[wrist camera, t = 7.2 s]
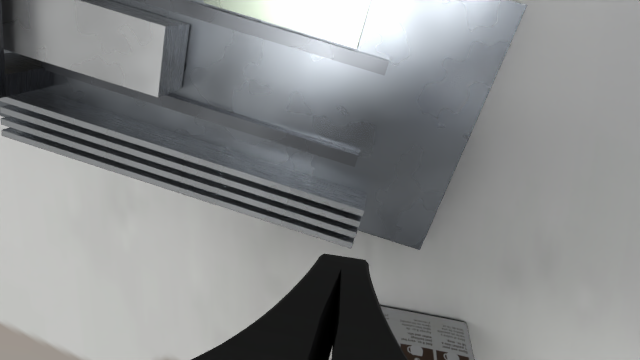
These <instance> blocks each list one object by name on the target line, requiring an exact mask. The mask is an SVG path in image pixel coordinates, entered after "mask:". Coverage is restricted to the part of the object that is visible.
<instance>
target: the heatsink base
mask: <svg viewBox="0 0 640 360" xmlns="http://www.w3.org/2000/svg"><path fill="white" fill-rule="evenodd" d="M110 1H114V2H117V3H120V4H123V5H127V6H130V7H133V8H137V9H140V10H143V11H147V12H150V13H153V14H156V15H160V16H163V17H166V18H170V19H173V20H176V21H180V22H183V23H186V24H189V25H190V26H189V34H188V42H187V50H186V57H185V65H184V73H183V81H182V89H179V90H176V91H174V92H171V93H168V94H166V95H163V96H160V97H155V96H152V95H149V94H145V93H142V92H139V91H136V90H133V89H129V88H126V87H123V86H120V85H117V84H113V83H110V82H107V81H104V80H101V79H97V78H94V77H91V76H88V75H85V74H81V73H78V72H75V71H72V70H69V69H65V68H62V67H59V66H56V65H53V64H49V63H46V62H43V61H40V60H37V59H33V58H30V57H27V56H24V55H21V54H17V53H14V52H11V51H8V50H5V49H4V43H3V23H2V3H1V0H0V115H1V116H4V117H5V118H1V124H2V125H5V126H8V127H10V128H7V129H3V130H2V136H4V137H7V138H11V139H14V140H17V141H20V142H23V143H26V144H29V145H32V146H35V147H38V148H41V149H45V150H48V151H51V152H54V153H57V154H60V155H63V156H66V157H69V158H72V159H75V160H79V161H82V162H85V163H88V164H91V165H94V166H97V167H100V168H103V169H106V170H110V171H113V172H116V173H119V174H122V175H125V176H128V177H131V178H134V179H137V180H140V181H144V182H147V183H150V184H153V185H156V186H159V187H162V188H165V189H168V190H171V191H174V192H178V193H181V194H184V195H187V196H190V197H193V198H196V199H199V200H202V201H205V202H209V203H212V204H215V205H218V206H221V207H224V208H227V209H230V210H233V211H236V212H239V213H243V214H246V215H249V216H252V217H255V218H258V219H261V220H264V221H267V222H270V223H274V224H277V225H280V226H283V227H286V228H289V229H292V230H295V231H298V232H301V233H304V234H308V235H311V236H314V237H317V238H320V239H323V240H326V241H329V242H332V243H335V244H338V245H342V246H345V247H348V248H351V247H352V244H353V240H354V238H355V236H356V233H357V230H359V231H362V232H365V233H368V234H371V235H375V236H378V237H381V238H384V239H387V240H390V241H393V242H396V243H400V244H403V245H406V246H409V247H412V248H415V249H418V250H420V248H421V246H422V243H423V241H424V239H425V237H426V234H427V232H428V230H429V228H430V225H431V223H432V221H433V218H434V216H435V214H436V212H437V209H438V207H439V205H440V202H441V200H442V198H443V196H444V193H445V191H446V189H447V186H448V184H449V182H450V180H451V177H452V175H453V173H454V171H455V168H456V166H457V164H458V161H459V159H460V157H461V155H462V152H463V150H464V148H465V145H466V143H467V141H468V139H469V136H470V134H471V132H472V130H473V127H474V125H475V123H476V120H477V118H478V116H479V114H480V111H481V109H482V107H483V104H484V102H485V100H486V98H487V95H488V93H489V91H490V89H491V86H492V84H493V82H494V79H495V77H496V75H497V73H498V70H499V68H500V66H501V63H502V61H503V59H504V57H505V54H506V52H507V50H508V48H509V45H510V43H511V41H512V38H513V36H514V34H515V32H516V29H517V27H518V25H519V22H520V20H521V18H522V16H523V13H524V11H525V9H526V6H527V5H525V4H521V3H518V2H514V1H511V0H110Z"/></svg>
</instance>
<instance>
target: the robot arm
mask: <svg viewBox="0 0 640 360" xmlns="http://www.w3.org/2000/svg"><path fill="white" fill-rule="evenodd" d="M332 345H333V349H332ZM331 349H332V360H408V359H407V357H406V355H405V354H404V352H403V350H402V349H401V347H400V345H399V344H398V342H397V340H396V338H395V336H394V335H393V333H392V331H391V329H390V327H389V325H388V323H387V320H386V318H385V316H384V314H383V312H382V309H381V307H380V304H379V302H378V299H377V296H376V294H375V291H374V288H373V284H372V281H371V277H370V273H369V264H368V263H367V262H366V260H362V259H355V258H349V257H342V256H336V255H329V254H323V255H321V256H320V257H319V259H318V260H317V261H316V263H315V264H314V265H313V267H312V268H311V269H310V270H309V272H308V273H307V274H306V275H305V276H304V277H303V278H302V280H301V281H300V282H299V283H298V284H297V285H296V286H295V287H294V288H293V289H292V290H291V291H290V292H289V293H288V294H287V295H286V296H285V297H284V298H283V299H282V300H281V301H279V302H278V303H277V304H276V305H275V306H274V307H273V308H272V309H271V310H269V311H268V312H267V313H266V314H264V315H263V316H262V317H261V318H259V319H258V320H257V321H255V322H254V323H253V324H251V325H250V326H249V327H247V328H246V329H244V330H243V331H241V332H240V333H238V334H237V335H235V336H234V337H232V338H231V339H229V340H227V341H226V342H224V343H222V344H221V345H219V346H217V347H215V348H213V349H211V350H210V351H208V352H206V353H204V354H202V355H200V356H198V357H196V358H194V359H192V360H329V356H330V352H331Z"/></svg>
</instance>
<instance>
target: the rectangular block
mask: <svg viewBox="0 0 640 360" xmlns="http://www.w3.org/2000/svg"><path fill="white" fill-rule="evenodd" d="M1 3H2V23H3V43H4V49H5V50H8V51H11V52H14V53H17V54H21V55H24V56H27V57H30V58H33V59H37V60H40V61H43V62H46V63H49V64H53V65H56V66H59V67H62V68H65V69H69V70H72V71H75V72H78V73H81V74H85V75H88V76H91V77H94V78H97V79H101V80H104V81H107V82H110V83H113V84H117V85H120V86H123V87H126V88H129V89H133V90H136V91H139V92H142V93H145V94H149V95H152V96H155V97H160V96H163V95H166V94H168V93H171V92H174V91H176V90H179V89H182V81H183V73H184V65H185V57H186V50H187V42H188V34H189V26H190V25H189V24H186V23H183V22H180V21H176V20H173V19H170V18H166V17H163V16H160V15H156V14H153V13H150V12H147V11H143V10H140V9H137V8H133V7H130V6H127V5H123V4H120V3H117V2H114V1H110V0H1Z"/></svg>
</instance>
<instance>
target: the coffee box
mask: <svg viewBox="0 0 640 360" xmlns="http://www.w3.org/2000/svg"><path fill="white" fill-rule="evenodd" d="M380 307H381V309H382V312H383V314H384V316H385V318H386V320H387V323H388V325H389V327H390V329H391V331H392V333H393V335H394V336H395V338H396V340H397V342H398V344H399V345H400V347H401V349H402V350H403V352H404V354H405V355H406V357H407V359H408V360H475V359H474V355H473V351H472V346H471V342H470V337H469V332H468V327H467V325H466V323H464V322H461V321H455V320H450V319H445V318H440V317H435V316H429V315H424V314H419V313H414V312H408V311H403V310H398V309H393V308H387V307H382V306H380Z"/></svg>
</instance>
